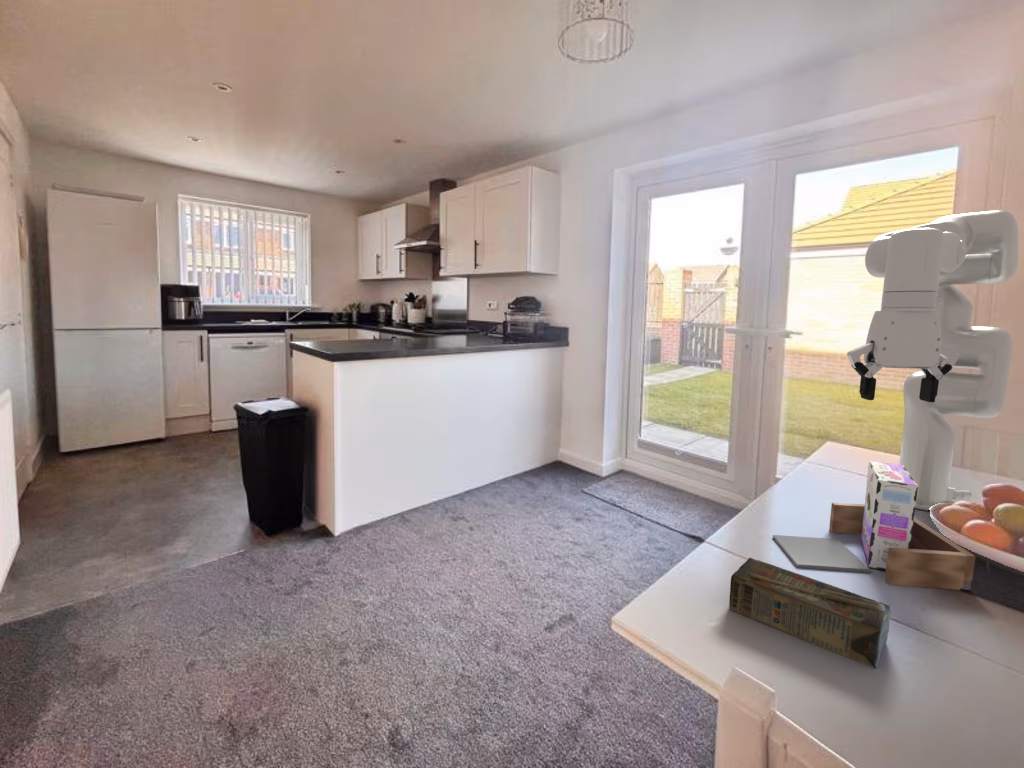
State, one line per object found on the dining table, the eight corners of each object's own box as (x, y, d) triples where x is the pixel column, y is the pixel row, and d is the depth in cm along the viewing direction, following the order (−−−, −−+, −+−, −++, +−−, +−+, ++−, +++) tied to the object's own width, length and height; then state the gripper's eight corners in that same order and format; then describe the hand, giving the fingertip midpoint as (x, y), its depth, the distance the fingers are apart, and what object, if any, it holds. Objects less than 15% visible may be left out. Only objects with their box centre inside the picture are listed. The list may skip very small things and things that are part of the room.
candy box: (908, 576, 87) (919, 485, 84) (866, 568, 90) (876, 479, 87) (895, 545, 99) (905, 464, 96) (859, 538, 102) (868, 459, 99)
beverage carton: (878, 674, 64) (883, 626, 63) (725, 611, 77) (728, 571, 76) (888, 644, 69) (893, 600, 68) (744, 591, 83) (747, 553, 82)
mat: (837, 541, 100) (837, 539, 100) (870, 572, 88) (870, 569, 88) (772, 537, 102) (773, 534, 101) (796, 567, 90) (797, 564, 90)
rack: (893, 534, 103) (896, 506, 103) (970, 590, 82) (975, 556, 82) (829, 530, 105) (831, 502, 104) (888, 584, 84) (892, 550, 83)
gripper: (948, 303, 90) (936, 398, 92) (843, 303, 92) (834, 395, 95) (980, 302, 82) (966, 405, 85) (865, 302, 85) (854, 402, 87)
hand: (896, 400), depth 90 cm, fingers open, 9 cm apart
